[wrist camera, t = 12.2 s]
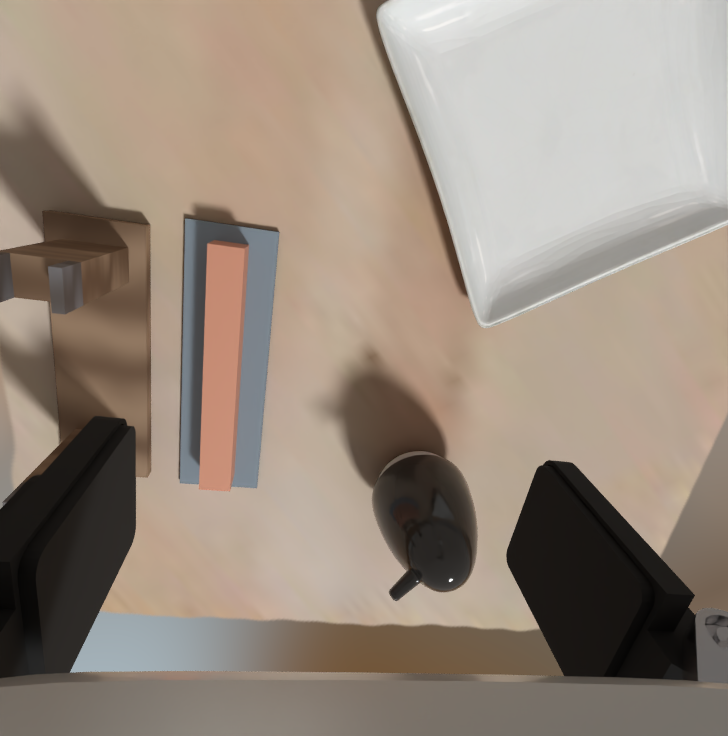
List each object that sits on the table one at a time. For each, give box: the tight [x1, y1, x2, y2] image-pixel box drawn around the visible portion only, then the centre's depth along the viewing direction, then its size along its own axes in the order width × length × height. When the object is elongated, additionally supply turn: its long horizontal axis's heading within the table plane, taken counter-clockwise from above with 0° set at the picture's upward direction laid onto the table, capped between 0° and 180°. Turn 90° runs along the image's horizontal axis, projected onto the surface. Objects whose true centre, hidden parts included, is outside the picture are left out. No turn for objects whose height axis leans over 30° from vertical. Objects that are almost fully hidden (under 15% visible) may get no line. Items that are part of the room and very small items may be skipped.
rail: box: [199, 240, 249, 491], centre depth 44 cm, size 24×3×3 cm, turn 172°
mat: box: [180, 218, 279, 488], centre depth 45 cm, size 27×8×1 cm, turn 171°
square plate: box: [376, 0, 728, 328], centre depth 40 cm, size 27×27×4 cm
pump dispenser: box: [372, 451, 478, 601], centre depth 45 cm, size 10×10×15 cm
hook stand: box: [0, 210, 151, 506], centre depth 38 cm, size 25×8×13 cm, turn 171°
